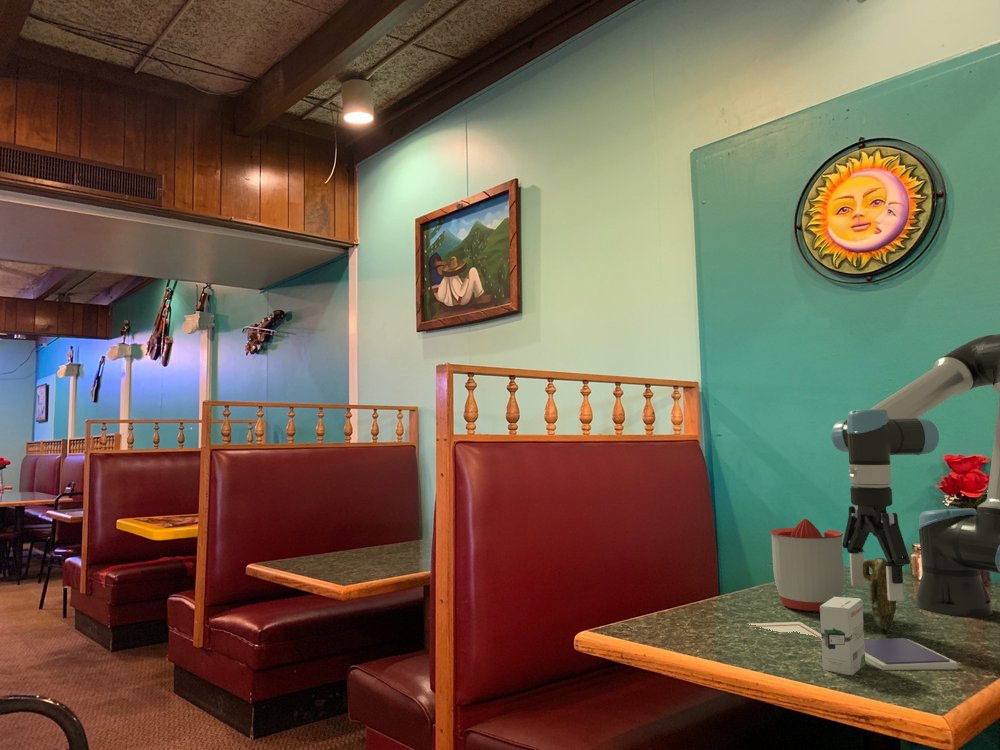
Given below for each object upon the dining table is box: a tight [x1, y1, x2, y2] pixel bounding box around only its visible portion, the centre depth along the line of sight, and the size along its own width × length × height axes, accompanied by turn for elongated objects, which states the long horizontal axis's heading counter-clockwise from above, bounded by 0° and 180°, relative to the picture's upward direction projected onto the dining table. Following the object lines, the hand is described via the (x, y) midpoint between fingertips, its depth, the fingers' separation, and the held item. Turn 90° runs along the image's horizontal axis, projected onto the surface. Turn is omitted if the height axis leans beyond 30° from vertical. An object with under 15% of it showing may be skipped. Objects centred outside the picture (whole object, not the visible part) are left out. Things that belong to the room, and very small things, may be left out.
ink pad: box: [864, 637, 959, 671], centre depth 131 cm, size 13×14×2 cm
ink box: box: [819, 596, 866, 676], centre depth 125 cm, size 9×5×12 cm, turn 140°
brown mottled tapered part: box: [863, 557, 897, 635], centre depth 147 cm, size 9×5×15 cm, turn 136°
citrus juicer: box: [769, 518, 845, 613], centre depth 170 cm, size 16×17×20 cm
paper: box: [746, 621, 822, 642], centre depth 147 cm, size 16×16×1 cm
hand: (876, 592), depth 147 cm, fingers open, 13 cm apart
